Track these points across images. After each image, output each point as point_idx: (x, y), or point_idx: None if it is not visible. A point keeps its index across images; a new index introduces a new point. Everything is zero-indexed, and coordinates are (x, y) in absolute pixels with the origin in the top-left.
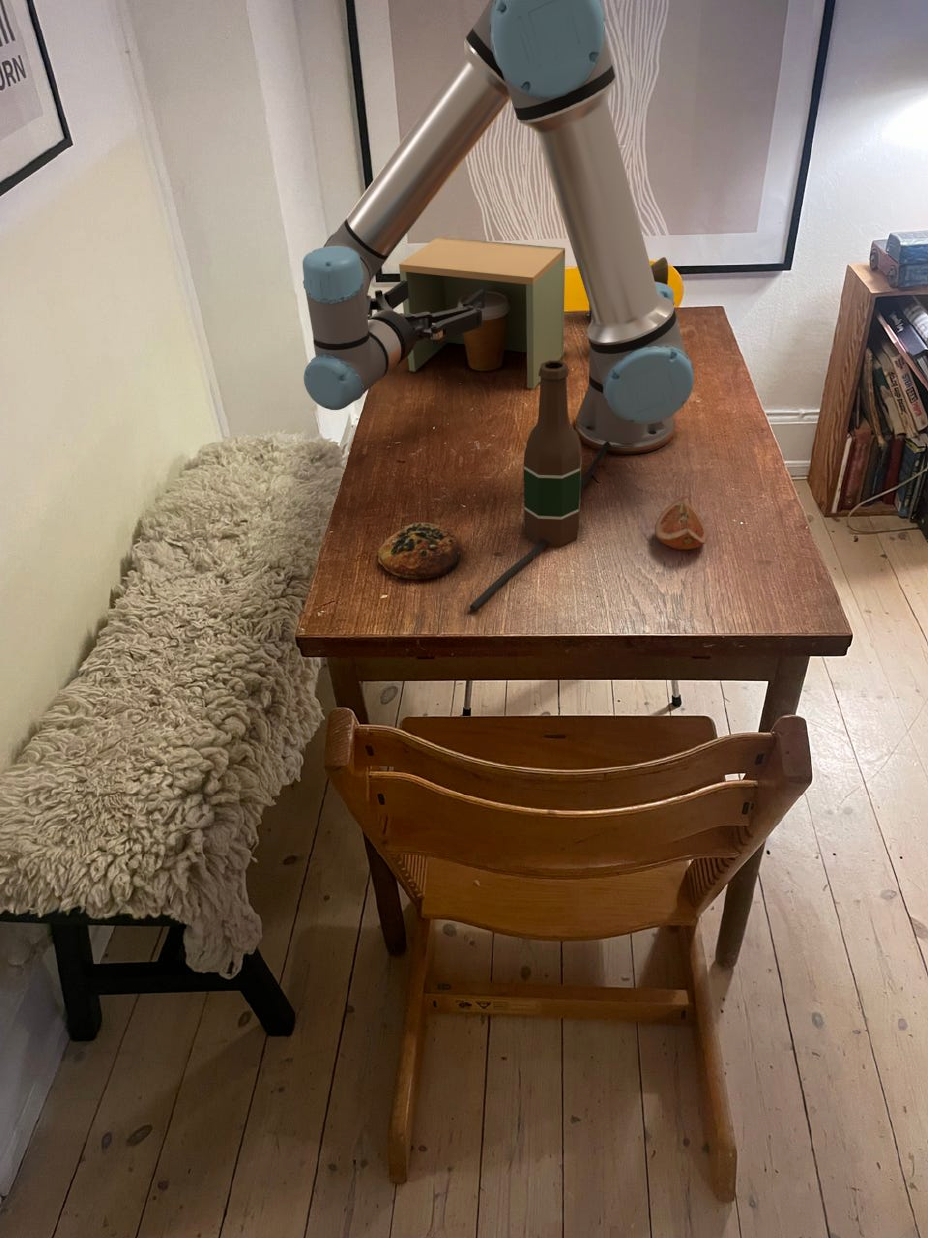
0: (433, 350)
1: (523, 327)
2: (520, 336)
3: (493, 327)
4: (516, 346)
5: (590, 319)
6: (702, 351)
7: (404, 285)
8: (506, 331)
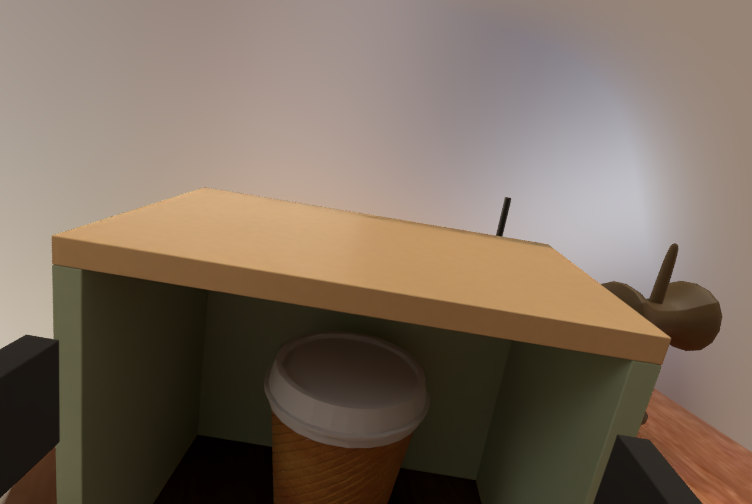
0: (159, 484)
1: None
2: None
3: (393, 460)
4: None
5: None
6: (703, 446)
7: (22, 381)
8: None
